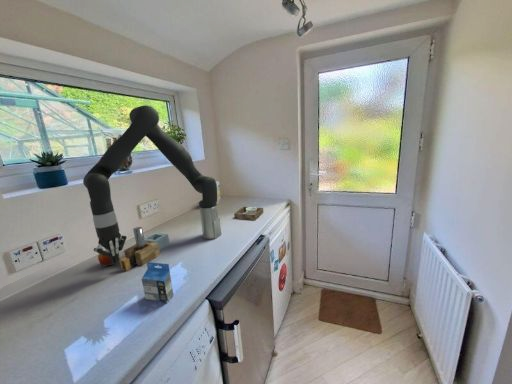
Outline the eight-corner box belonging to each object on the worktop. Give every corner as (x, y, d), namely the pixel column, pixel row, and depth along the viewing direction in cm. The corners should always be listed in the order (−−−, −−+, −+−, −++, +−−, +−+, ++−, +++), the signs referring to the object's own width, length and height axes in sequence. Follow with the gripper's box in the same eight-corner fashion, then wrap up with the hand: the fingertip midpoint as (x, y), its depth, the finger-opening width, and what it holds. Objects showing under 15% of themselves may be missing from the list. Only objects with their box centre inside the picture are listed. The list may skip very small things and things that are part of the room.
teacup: (251, 211, 163) (251, 205, 162) (261, 214, 156) (261, 208, 155) (241, 215, 156) (240, 209, 155) (251, 218, 149) (251, 212, 148)
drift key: (142, 260, 104) (140, 251, 103) (126, 270, 97) (124, 260, 95) (137, 259, 105) (135, 250, 104) (121, 269, 98) (119, 259, 97)
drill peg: (149, 257, 107) (143, 227, 104) (143, 261, 104) (137, 230, 100) (143, 256, 109) (138, 226, 105) (137, 259, 105) (131, 229, 102)
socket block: (159, 254, 109) (157, 243, 107) (142, 265, 100) (140, 253, 98) (144, 251, 113) (142, 240, 111) (126, 262, 104) (123, 250, 102)
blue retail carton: (144, 300, 78) (138, 268, 75) (152, 292, 82) (146, 261, 79) (167, 303, 76) (161, 270, 73) (174, 295, 80) (169, 263, 77)
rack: (169, 243, 120) (168, 234, 118) (156, 252, 112) (154, 241, 110) (156, 241, 123) (154, 232, 122) (142, 249, 115) (140, 239, 114)
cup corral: (263, 212, 159) (263, 207, 158) (255, 220, 146) (255, 215, 145) (243, 211, 165) (243, 206, 164) (234, 218, 151) (234, 213, 150)
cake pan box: (212, 208, 175) (210, 186, 171) (206, 208, 176) (204, 186, 172) (221, 201, 193) (219, 181, 189) (215, 201, 194) (213, 181, 190)
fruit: (97, 269, 96) (95, 251, 98) (101, 270, 103) (99, 253, 105) (119, 264, 100) (116, 246, 102) (121, 265, 107) (119, 248, 109)
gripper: (95, 231, 82) (106, 273, 86) (127, 217, 94) (136, 255, 98) (82, 229, 85) (93, 270, 89) (114, 216, 96) (123, 253, 101)
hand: (115, 262), depth 93 cm, fingers closed
